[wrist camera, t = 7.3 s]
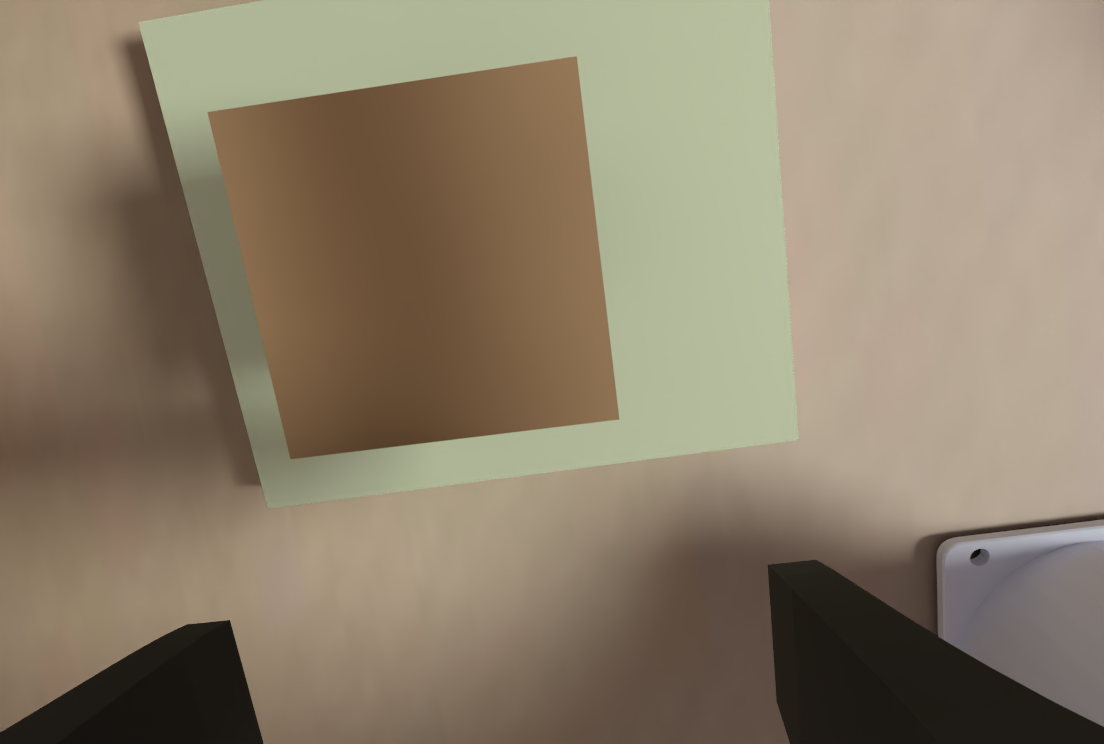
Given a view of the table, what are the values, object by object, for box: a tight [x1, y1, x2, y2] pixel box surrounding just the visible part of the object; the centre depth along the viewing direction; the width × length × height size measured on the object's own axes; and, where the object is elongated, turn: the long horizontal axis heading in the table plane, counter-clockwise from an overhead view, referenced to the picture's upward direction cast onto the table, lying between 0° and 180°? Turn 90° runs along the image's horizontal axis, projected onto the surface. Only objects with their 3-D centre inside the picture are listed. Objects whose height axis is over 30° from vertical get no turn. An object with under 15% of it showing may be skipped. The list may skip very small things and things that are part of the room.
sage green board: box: [138, 0, 799, 509], centre depth 17 cm, size 14×12×2 cm
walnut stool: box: [207, 56, 619, 459], centre depth 13 cm, size 5×5×7 cm
